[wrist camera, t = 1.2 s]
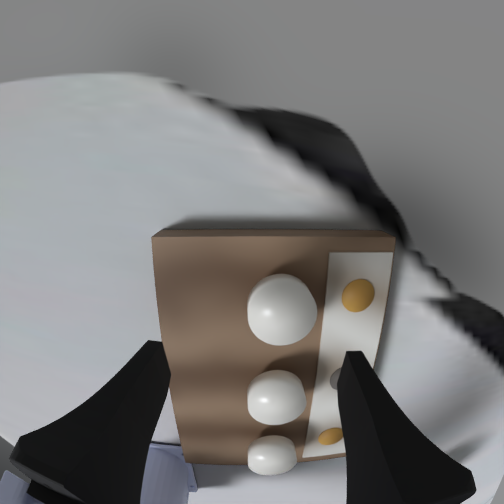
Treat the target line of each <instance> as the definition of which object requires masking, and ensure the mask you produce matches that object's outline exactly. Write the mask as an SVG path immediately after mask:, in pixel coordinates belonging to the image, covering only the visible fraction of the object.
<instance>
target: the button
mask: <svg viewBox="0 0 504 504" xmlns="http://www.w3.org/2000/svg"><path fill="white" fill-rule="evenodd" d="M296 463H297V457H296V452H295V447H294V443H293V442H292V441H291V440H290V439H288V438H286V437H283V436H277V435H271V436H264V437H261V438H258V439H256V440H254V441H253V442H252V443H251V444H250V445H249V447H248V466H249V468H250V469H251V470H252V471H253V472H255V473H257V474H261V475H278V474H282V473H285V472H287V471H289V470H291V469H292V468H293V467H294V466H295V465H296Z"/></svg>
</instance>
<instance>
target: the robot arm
mask: <svg viewBox="0 0 504 504" xmlns="http://www.w3.org/2000/svg"><path fill="white" fill-rule="evenodd" d="M170 379H171V371H170V368H169V364H168V361H167V357H166V353H165V350H164V346H163V342H159V341H151V340H148V341H147V342H146V343H145V344H144V345H143V346H142V347H141V349H140V350H139V351H138V352H137V353H136V354H135V355H134V356H133V357H132V358H131V359H130V360H129V361H128V363H127V364H126V365H125V366H124V367H123V368H122V369H121V370H120V371H119V372H118V373H117V374H116V375H115V376H114V377H113V378H112V379H111V380H110V381H109V382H107V383H106V384H105V385H104V386H103V387H102V388H101V389H100V390H99V391H98V392H96V393H95V394H94V395H93V396H92V397H90V398H89V399H88V400H86V401H85V402H84V403H83V404H81V405H80V406H78V407H77V408H75V409H74V410H72V411H71V412H69V413H68V414H66V415H65V416H63V417H61V418H60V419H58V420H56V421H54V422H52V423H51V424H49V425H47V426H45V427H42V428H40V429H38V430H35V431H33V432H31V433H28V434H25V435H23V436H20V438H19V440H18V442H17V444H16V445H15V448H14V450H13V451H12V453H11V456H10V458H9V459H10V462H11V463H12V464H13V465H14V466H15V467H16V468H18V469H19V470H20V471H21V472H22V473H24V474H25V475H26V476H28V477H29V478H30V479H31V483H30V484H29V483H27V482H25V481H24V480H22V479H20V478H19V477H17V476H16V475H14V474H12V473H10V472H9V471H8V470H6V471H5V472H4V474H3V477H2V479H1V481H0V504H188V497H189V492H197V490H198V488H197V484H196V480H195V476H194V472H193V467H192V463H185V459H184V455H183V451H182V446H172V445H162V444H153V443H151V439H152V436H153V433H154V431H155V428H156V425H157V422H158V419H159V417H160V414H161V411H162V408H163V405H164V402H165V399H166V397H167V393H168V388H169V383H170ZM337 396H338V408H339V414H340V420H341V426H342V432H343V438H344V445H345V451H346V461H347V503H346V504H460V503H462V502H463V501H465V500H467V499H468V498H470V497H471V496H472V495H474V494H475V492H476V487H475V482H474V478H473V475H472V472H471V471H470V470H469V469H467V468H466V467H464V466H462V465H461V464H459V463H458V462H456V461H455V460H453V459H452V458H450V457H449V456H448V455H446V454H445V453H444V452H443V451H441V450H440V449H439V448H438V447H437V446H436V445H434V444H433V443H432V442H431V441H430V440H429V439H428V438H427V437H425V436H424V435H423V434H422V433H421V432H420V431H419V429H418V428H417V427H416V426H415V425H414V424H413V423H412V422H411V421H410V420H409V419H408V417H407V416H406V415H405V414H404V413H403V411H402V410H401V409H400V408H399V406H398V405H397V404H396V402H395V401H394V400H393V398H392V397H391V396H390V394H389V393H388V391H387V390H386V388H385V387H384V385H383V384H382V383H381V381H380V379H379V378H378V376H377V375H376V373H375V372H374V370H373V368H372V367H371V365H370V363H369V362H368V360H367V358H366V357H365V355H364V353H363V352H362V351H346V354H345V358H344V361H343V364H342V368H341V371H340V375H339V378H338V381H337Z"/></svg>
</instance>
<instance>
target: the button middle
mask: <svg viewBox="0 0 504 504" xmlns="http://www.w3.org/2000/svg"><path fill="white" fill-rule="evenodd" d="M247 398H248V411H249V413H250V415H251V416H252V417H253V418H254V419H255V420H256V421H258V422H261V423H263V424H268V425H280V424H285V423H288V422H291V421H293V420H294V419H296V418H297V417H299V416H300V415H301V414H302V413H303V411H304V410H305V407H306V396H305V393H304V389H303V385H302V382H301V380H300V379H299V378H298V377H297V376H296V375H295V374H293V373H291V372H288V371H284V370H272V371H267V372H264V373H262V374H260V375H258V376H257V377H255V378H254V379H253V380H252V381H251V383H250V384H249V386H248V390H247Z"/></svg>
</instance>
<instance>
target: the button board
mask: <svg viewBox="0 0 504 504" xmlns="http://www.w3.org/2000/svg"><path fill="white" fill-rule="evenodd" d="M151 238H152V252H153V265H154V277H155V287H156V297H157V306H158V314H159V322H160V330H161V338H162V342H163V346H164V350H165V353H166V357H167V361H168V364H169V368H170V371H171V379H170V383H169V388H170V394H171V399H172V404H173V409H174V414H175V419H176V424H177V429H178V433H179V438H180V442H181V446H182V451H183V455H184V459H185V463H195V464H214V465H248V447H249V445H250V444H251V443H252V442H253V441H254V440H256V439H258V438H261V437H264V436H271V435H277V436H283V437H286V438H288V439H290V440H291V441H292V442H293V443H294V447H295V452H296V457H297V462H307V461H316V460H324V459H331V458H338V457H345V456H346V451H345V445H344V438H343V432H342V426H341V420H340V414H339V408H338V396H337V381H338V378H339V375H340V371H341V368H342V364H343V361H344V358H345V354H346V351H362V352H363V353H364V355H365V357H366V358H367V360H368V362H369V363H370V365H371V367H372V368H373V370H374V366H375V361H376V357H377V353H378V348H379V343H380V339H381V334H382V329H383V324H384V318H385V313H386V307H387V301H388V295H389V288H390V282H391V275H392V267H393V259H394V250H395V241H396V237H394V236H391V235H389V234H387V233H385V232H383V231H378V230H319V229H186V230H160V231H159V232H158V233H156V234H155V235H154V236H152V237H151ZM274 274H288V275H292V276H295V277H297V278H298V279H300V280H301V281H302V282H304V283H305V285H306V286H307V287H308V289H309V291H310V293H311V294H312V296H313V298H314V300H315V302H316V306H317V319H316V322H315V324H314V326H313V328H312V330H311V331H310V332H309V333H308V334H307V335H306V336H305V337H304V338H303V339H301V340H299V341H297V342H295V343H293V344H289V345H282V346H279V345H271V344H268V343H265V342H263V341H262V340H260V339H259V338H257V337H256V336H255V334H254V333H253V332H252V330H251V328H250V326H249V323H248V312H247V301H248V297H249V294H250V292H251V290H252V289H253V287H254V286H255V285H256V284H257V283H258V282H259V281H260V280H262V279H263V278H265V277H268V276H270V275H274ZM272 370H284V371H288V372H291V373H293V374H295V375H296V376H297V377H298V378H299V379H300V380H301V382H302V385H303V389H304V393H305V396H306V407H305V410H304V411H303V413H302V414H301V415H300V416H299V417H297V418H296V419H294V420H293V421H291V422H288V423H285V424H280V425H268V424H263V423H261V422H258V421H256V420H255V419H254V418H253V417H252V416H251V415H250V413H249V411H248V398H247V390H248V386H249V384H250V383H251V381H252V380H253V379H254V378H255V377H257V376H258V375H260V374H262V373H264V372H267V371H272Z"/></svg>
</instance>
